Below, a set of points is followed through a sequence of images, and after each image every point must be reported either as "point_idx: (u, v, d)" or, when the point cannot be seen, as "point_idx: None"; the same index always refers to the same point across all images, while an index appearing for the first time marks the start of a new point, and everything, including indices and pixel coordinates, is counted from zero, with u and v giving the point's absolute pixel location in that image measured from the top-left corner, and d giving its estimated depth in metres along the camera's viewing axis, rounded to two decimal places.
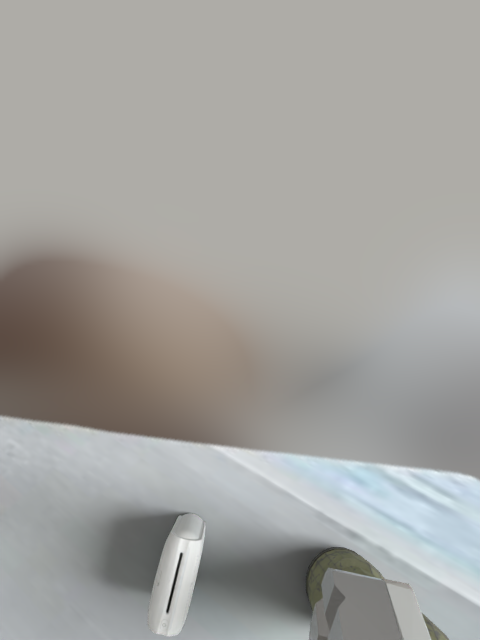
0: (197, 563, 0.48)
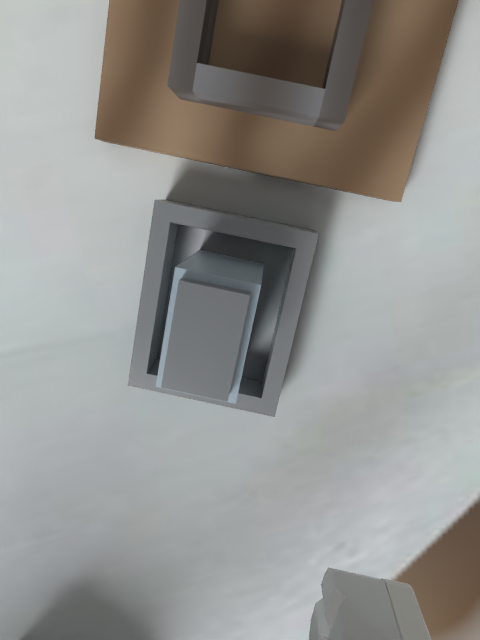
0: None
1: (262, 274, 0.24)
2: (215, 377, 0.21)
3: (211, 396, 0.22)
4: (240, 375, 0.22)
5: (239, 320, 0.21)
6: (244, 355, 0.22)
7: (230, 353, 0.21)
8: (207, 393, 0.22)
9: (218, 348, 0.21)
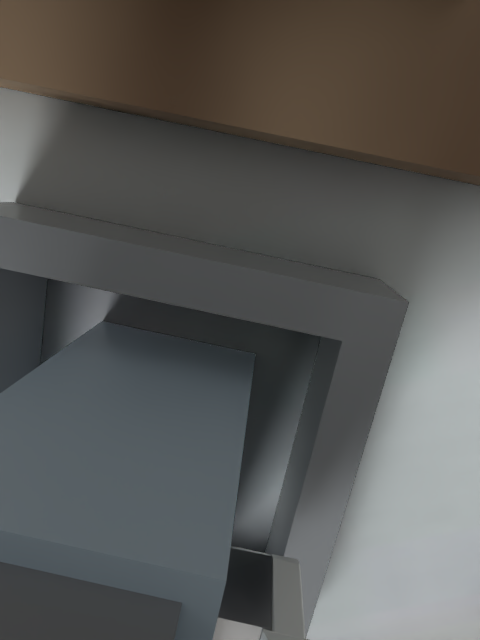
0: None
1: (244, 435, 0.08)
2: None
3: None
4: None
5: None
6: None
7: None
8: None
9: None
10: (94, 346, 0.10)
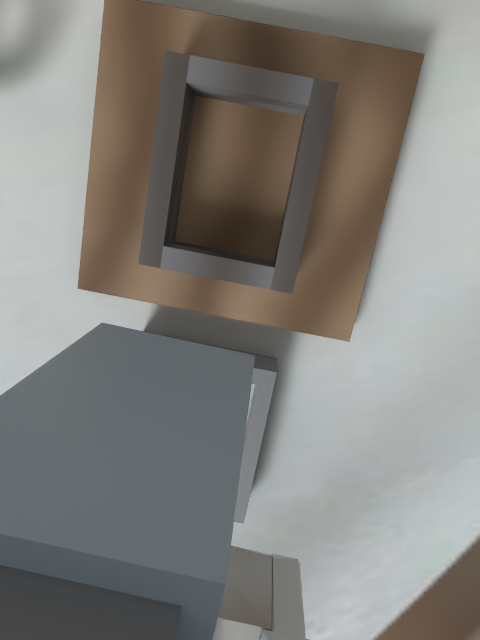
0: None
1: (243, 437, 0.08)
2: None
3: None
4: None
5: None
6: None
7: None
8: None
9: None
10: (94, 348, 0.10)
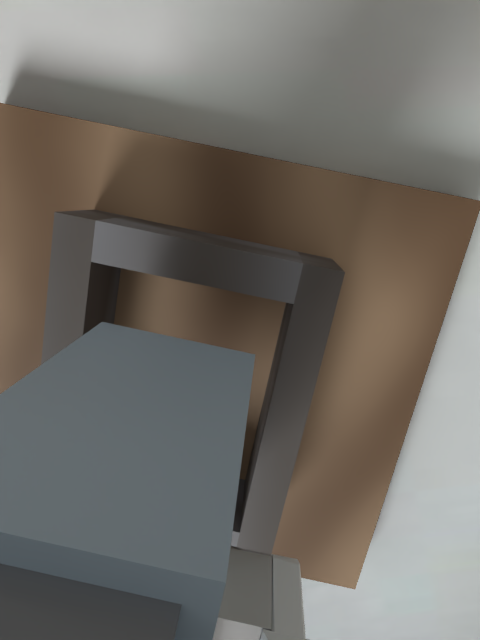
0: None
1: (243, 436, 0.08)
2: None
3: None
4: None
5: None
6: None
7: None
8: None
9: None
10: (94, 347, 0.10)
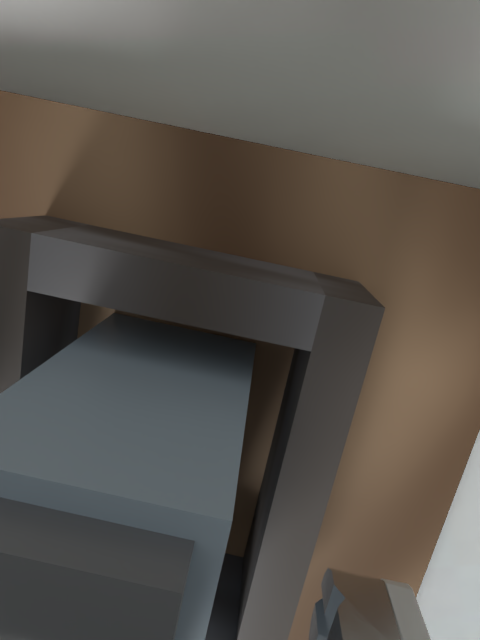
0: None
1: (246, 411, 0.09)
2: None
3: None
4: None
5: None
6: None
7: None
8: None
9: None
10: (108, 335, 0.11)
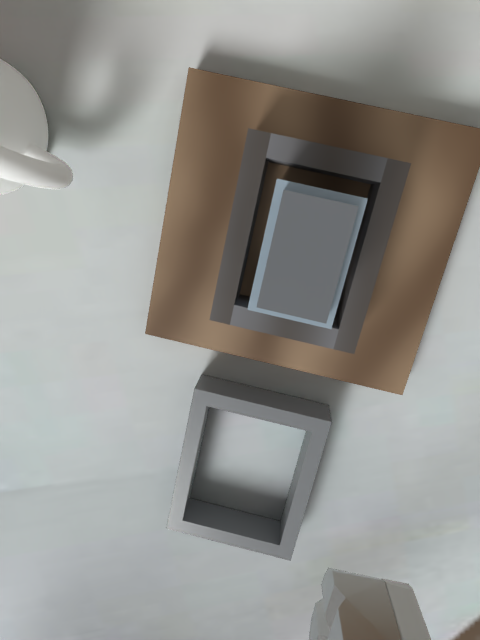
0: None
1: None
2: (315, 296, 0.20)
3: (309, 317, 0.21)
4: (338, 298, 0.21)
5: (345, 234, 0.19)
6: (344, 276, 0.21)
7: (333, 270, 0.20)
8: (305, 314, 0.21)
9: (320, 264, 0.20)
10: None
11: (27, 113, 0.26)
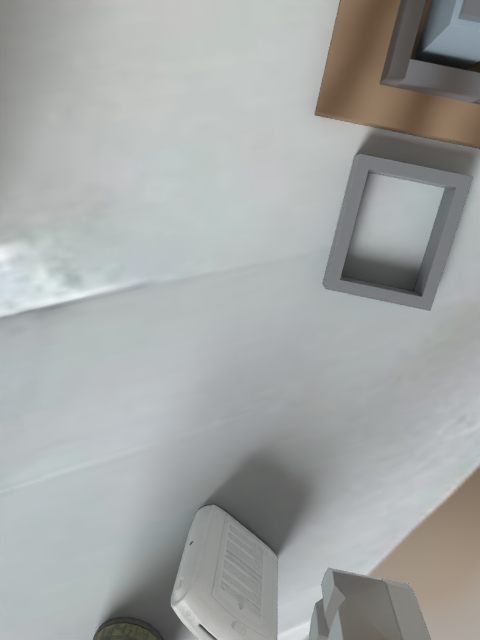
0: None
1: None
2: None
3: None
4: None
5: None
6: None
7: None
8: None
9: None
10: None
11: None
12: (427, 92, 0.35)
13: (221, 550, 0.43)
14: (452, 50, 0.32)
